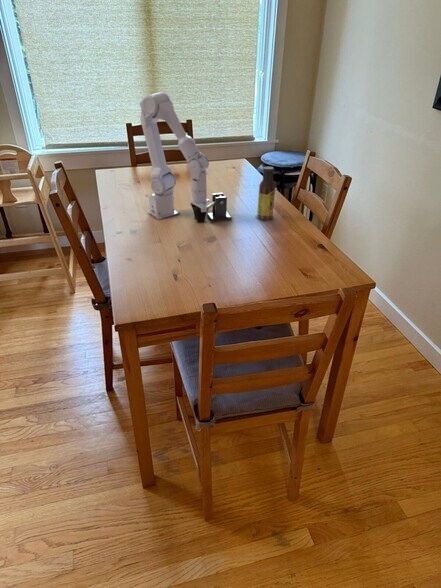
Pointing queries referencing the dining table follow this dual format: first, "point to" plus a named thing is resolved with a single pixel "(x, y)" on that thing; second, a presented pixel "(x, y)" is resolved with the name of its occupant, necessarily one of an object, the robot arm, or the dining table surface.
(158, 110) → the robot arm
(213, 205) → the tap lever
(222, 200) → the dark grey lever bracket
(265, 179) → the sauce bottle
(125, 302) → the dining table surface
